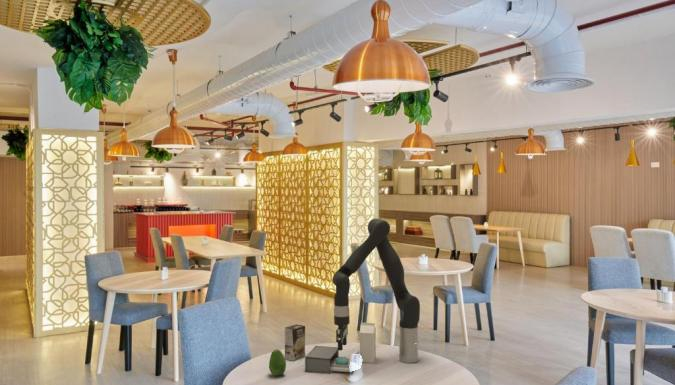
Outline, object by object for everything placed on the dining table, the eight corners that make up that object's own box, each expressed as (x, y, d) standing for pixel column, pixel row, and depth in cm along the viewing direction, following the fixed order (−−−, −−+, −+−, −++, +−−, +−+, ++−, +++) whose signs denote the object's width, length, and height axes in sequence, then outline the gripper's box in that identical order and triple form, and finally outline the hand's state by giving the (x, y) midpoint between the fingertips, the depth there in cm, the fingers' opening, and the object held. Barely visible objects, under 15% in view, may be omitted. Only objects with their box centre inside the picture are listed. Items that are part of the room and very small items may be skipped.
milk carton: (373, 363, 264) (373, 325, 264) (359, 362, 266) (359, 324, 265) (375, 358, 271) (375, 321, 271) (361, 357, 273) (361, 320, 272)
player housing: (338, 361, 267) (338, 347, 267) (329, 373, 249) (329, 358, 249) (315, 359, 270) (315, 345, 270) (305, 371, 252) (305, 356, 252)
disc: (349, 362, 259) (349, 357, 259) (346, 366, 254) (346, 361, 254) (337, 361, 261) (337, 356, 261) (334, 365, 255) (334, 360, 255)
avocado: (270, 372, 251) (270, 347, 251) (286, 372, 251) (286, 347, 251) (267, 378, 243) (267, 352, 243) (284, 378, 243) (284, 352, 243)
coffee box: (293, 361, 267) (293, 329, 266) (284, 359, 270) (284, 327, 270) (305, 356, 274) (305, 325, 274) (296, 354, 278) (296, 323, 278)
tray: (358, 361, 264) (358, 349, 264) (351, 373, 247) (351, 360, 247) (335, 359, 267) (335, 347, 267) (326, 371, 250) (326, 358, 250)
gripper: (345, 318, 249) (346, 352, 249) (352, 310, 263) (353, 343, 263) (330, 317, 251) (331, 351, 251) (337, 310, 265) (338, 342, 265)
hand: (342, 347), depth 257 cm, fingers open, 8 cm apart
